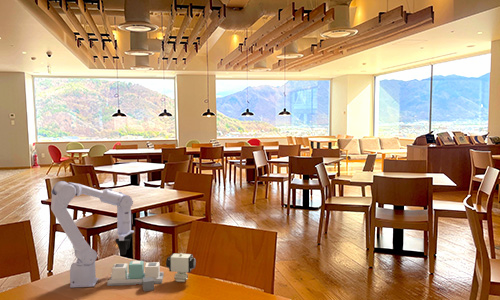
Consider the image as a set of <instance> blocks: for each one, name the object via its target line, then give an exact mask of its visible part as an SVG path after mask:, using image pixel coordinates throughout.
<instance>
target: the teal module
mask: <svg viewBox="0 0 500 300" xmlns="http://www.w3.org/2000/svg"><path fill="white" fill-rule="evenodd" d="M128 273H129V279H142V278H144V273H145V262H144V260H131V261H130V262H129V264H128Z"/></svg>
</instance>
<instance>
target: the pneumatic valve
mask: <svg viewBox="0 0 500 300" xmlns="http://www.w3.org/2000/svg"><path fill="white" fill-rule="evenodd" d="M196 263H197V260H196V258H195V257H194V255H193V253H192V254H191V253H182V252H180V253H173V252H172V254H170V255H169V256H167V257H166V261H165V267H166V268H167V269H168V271H169V272H172V273H173V272H174V280H175V282H176V283H177V282H179V283H185V282H186V281H187V280H188V278H189V274H188V273H191V272H192V270H193V269H194V270H195V268H196V265H197V264H196Z"/></svg>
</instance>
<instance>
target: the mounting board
mask: <svg viewBox="0 0 500 300" xmlns="http://www.w3.org/2000/svg"><path fill="white" fill-rule="evenodd" d="M160 269H161V268H160V262H159V261H153V262H146V263H145V265H144V278H148V277H153V279H154V285H155V284H157V285H160V284H161V285H162V284H163V279H164V274H165V273H164V271H161V270H160ZM136 284H139V285H143V283H142V279H129V269H128V263H113V265H112V267H111V274H110V278H109V280H107V284H106V286H107V287H111V286H113V287H114V286H136Z"/></svg>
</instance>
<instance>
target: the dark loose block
mask: <svg viewBox="0 0 500 300" xmlns="http://www.w3.org/2000/svg"><path fill="white" fill-rule="evenodd" d="M142 283H143V284H142V290H144V291H143V292H150V291H154V290H155V284H154V279H153V277H148V278H142Z"/></svg>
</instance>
